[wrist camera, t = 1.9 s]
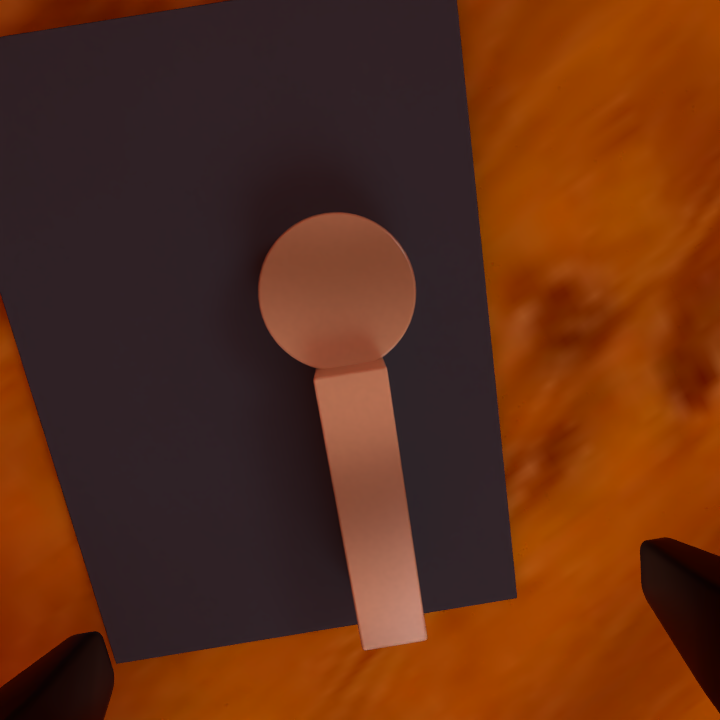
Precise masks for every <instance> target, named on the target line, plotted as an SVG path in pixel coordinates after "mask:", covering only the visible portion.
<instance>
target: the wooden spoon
mask: <svg viewBox="0 0 720 720" xmlns="http://www.w3.org/2000/svg"><path fill="white" fill-rule="evenodd" d="M258 300H259V307H260V311H261V315H262V318H263V320H264V323H265V325H266V327H267V329H268V331H269V332H270V334H271V336H272V337H273V339H274V340H275V341H276V342H277V344H278V345H279V346H280V347H281V348H282V349H283V350H284V351H285V352H287V353H288V354H289V355H290V356H292V357H293V358H295V359H296V360H298V361H300V362H301V363H304V364H306V365H308V366H310V367H314V368H316V370H315V375H314V379H313V382H314V388H315V393H316V399H317V404H318V410H319V415H320V421H321V426H322V432H323V437H324V442H325V448H326V453H327V459H328V464H329V470H330V475H331V481H332V486H333V492H334V497H335V502H336V508H337V513H338V519H339V524H340V530H341V535H342V541H343V546H344V552H345V557H346V562H347V568H348V573H349V579H350V584H351V590H352V595H353V601H354V606H355V612H356V617H357V622H358V628H359V633H360V639H361V644H362V648H363V650H370V649H377V648H383V647H389V646H395V645H401V644H407V643H413V642H419V641H425V640H427V632H426V626H425V619H424V612H423V605H422V599H421V592H420V585H419V579H418V572H417V565H416V558H415V552H414V545H413V538H412V532H411V525H410V518H409V512H408V505H407V498H406V491H405V485H404V478H403V471H402V465H401V458H400V451H399V444H398V438H397V431H396V424H395V418H394V411H393V404H392V397H391V391H390V384H389V377H388V371H387V367H386V364H385V362H384V360H383V356H385V355H386V354H387V353H388V352H390V351H391V350H392V349H393V348H394V347H395V346H396V344H397V343H398V342H399V341H400V340H401V338H402V337H403V335H404V334H405V332H406V330H407V328H408V326H409V324H410V322H411V319H412V316H413V313H414V308H415V303H416V281H415V276H414V271H413V268H412V265H411V263H410V260H409V258H408V256H407V254H406V252H405V251H404V249H403V248H402V246H401V245H400V243H399V242H398V241H397V240H396V239H395V237H394V236H393V235H392V234H391V233H389V232H388V231H387V230H386V229H385V228H383V227H382V226H380V225H379V224H377V223H376V222H374V221H372V220H370V219H368V218H365V217H362V216H359V215H356V214H351V213H344V212H330V213H322V214H318V215H313V216H311V217H308V218H306V219H303V220H301V221H300V222H298V223H296V224H294V225H293V226H291V227H290V228H289V229H287V230H286V231H285V232H284V233H283V234H282V235H281V236H280V237H279V238H278V239H277V240H276V241H275V243H274V244H273V245H272V247H271V248H270V250H269V252H268V253H267V255H266V257H265V260H264V262H263V264H262V268H261V271H260V275H259V282H258Z"/></svg>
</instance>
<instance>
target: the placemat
mask: <svg viewBox="0 0 720 720" xmlns="http://www.w3.org/2000/svg"><path fill="white" fill-rule="evenodd" d="M330 212H344V213H351V214H356V215H359V216H362V217H365V218H368V219H370V220H372V221H374V222H376V223H377V224H379V225H380V226H382V227H383V228H385V229H386V230H387V231H388V232H389V233H391V234H392V235H393V236H394V237H395V239H396V240H397V241H398V242H399V243H400V245H401V246H402V248H403V249H404V251H405V252H406V254H407V256H408V258H409V260H410V263H411V265H412V268H413V271H414V276H415V281H416V303H415V308H414V313H413V316H412V319H411V322H410V324H409V326H408V328H407V330H406V332H405V334H404V335H403V337H402V338H401V340H400V341H399V342H398V343H397V344H396V346H395V347H394V348H393V349H392V350H391V351H390V352H388V353H387V354H386V355H385V356H383V360H384V362H385V364H386V367H387V371H388V377H389V384H390V391H391V397H392V404H393V411H394V418H395V424H396V431H397V438H398V444H399V451H400V458H401V465H402V471H403V478H404V485H405V491H406V498H407V505H408V512H409V518H410V525H411V532H412V538H413V545H414V552H415V558H416V565H417V572H418V579H419V585H420V592H421V599H422V605H423V612H424V613H429V612H435V611H441V610H447V609H453V608H459V607H465V606H471V605H477V604H483V603H490V602H496V601H502V600H508V599H514V598H517V592H516V582H515V572H514V563H513V553H512V543H511V533H510V523H509V513H508V503H507V493H506V483H505V474H504V464H503V454H502V444H501V434H500V424H499V414H498V404H497V394H496V385H495V375H494V365H493V355H492V345H491V335H490V325H489V315H488V305H487V296H486V286H485V276H484V266H483V256H482V246H481V236H480V226H479V216H478V207H477V197H476V187H475V177H474V167H473V157H472V147H471V137H470V127H469V118H468V108H467V98H466V88H465V78H464V68H463V58H462V48H461V38H460V29H459V19H458V9H457V0H230V1H224V2H218V3H211V4H205V5H199V6H192V7H186V8H180V9H173V10H167V11H161V12H155V13H148V14H142V15H136V16H129V17H123V18H117V19H110V20H104V21H98V22H91V23H85V24H79V25H72V26H66V27H60V28H53V29H47V30H41V31H35V32H28V33H22V34H16V35H9V36H3V37H0V293H1V296H2V300H3V303H4V306H5V309H6V312H7V316H8V319H9V322H10V325H11V328H12V332H13V335H14V338H15V341H16V344H17V348H18V351H19V354H20V357H21V360H22V364H23V367H24V370H25V373H26V376H27V380H28V383H29V386H30V389H31V392H32V396H33V399H34V402H35V405H36V408H37V412H38V415H39V418H40V421H41V424H42V428H43V431H44V434H45V437H46V440H47V444H48V447H49V450H50V453H51V456H52V460H53V463H54V466H55V469H56V472H57V476H58V479H59V482H60V485H61V488H62V492H63V495H64V498H65V501H66V504H67V508H68V511H69V514H70V517H71V520H72V524H73V527H74V530H75V533H76V536H77V540H78V543H79V546H80V549H81V552H82V556H83V559H84V562H85V565H86V568H87V572H88V575H89V578H90V581H91V584H92V588H93V591H94V594H95V597H96V600H97V604H98V607H99V610H100V613H101V616H102V620H103V623H104V626H105V629H106V632H107V636H108V639H109V642H110V645H111V648H112V652H113V655H114V658H115V661H116V663H123V662H130V661H136V660H142V659H148V658H154V657H160V656H166V655H172V654H178V653H184V652H191V651H197V650H203V649H209V648H215V647H221V646H227V645H233V644H239V643H245V642H252V641H258V640H264V639H270V638H276V637H282V636H288V635H294V634H300V633H307V632H313V631H319V630H325V629H331V628H337V627H343V626H349V625H355V624H358V622H357V617H356V612H355V606H354V601H353V595H352V590H351V584H350V579H349V573H348V568H347V562H346V557H345V552H344V546H343V541H342V535H341V530H340V524H339V519H338V513H337V508H336V502H335V497H334V492H333V486H332V481H331V475H330V470H329V464H328V459H327V453H326V448H325V442H324V437H323V432H322V426H321V421H320V415H319V410H318V404H317V399H316V393H315V388H314V382H313V379H314V375H315V370H316V368H314V367H310V366H308V365H306V364H304V363H301V362H300V361H298V360H296V359H295V358H293V357H292V356H290V355H289V354H288V353H287V352H285V351H284V350H283V349H282V348H281V347H280V346H279V345H278V344H277V342H276V341H275V340H274V339H273V337H272V336H271V334H270V332H269V331H268V329H267V327H266V325H265V323H264V320H263V318H262V315H261V311H260V307H259V300H258V282H259V275H260V271H261V268H262V264H263V262H264V260H265V257H266V255H267V253H268V252H269V250H270V248H271V247H272V245H273V244H274V243H275V241H276V240H277V239H278V238H279V237H280V236H281V235H282V234H283V233H284V232H285V231H286V230H287V229H289V228H290V227H291V226H293V225H294V224H296V223H298V222H300V221H301V220H303V219H306V218H308V217H311V216H313V215H318V214H322V213H330Z"/></svg>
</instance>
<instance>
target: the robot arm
mask: <svg viewBox="0 0 720 720" xmlns="http://www.w3.org/2000/svg"><path fill="white" fill-rule="evenodd" d="M640 561H641V584H642V589H643V593H644V595H645V598H646V600H647V601H648V603H649V605H650V606H651V608H652V610H653V611H654V613H655V614H656V616H657V618H658V619H659V621H660V622H661V624H662V626H663V627H664V629H665V630H666V632H667V634H668V635H669V637H670V638H671V640H672V642H673V643H674V645H675V646H676V648H677V650H678V651H679V653H680V654H681V656H682V658H683V659H684V661H685V662H686V664H687V666H688V667H689V669H690V670H691V672H692V674H693V675H694V677H695V678H696V680H697V681H698V683H699V684H700V686H701V688H702V689H703V691H704V692H705V694H706V695H707V696H708V698H709V699H710V701H711V702H712V703H713V705H714V706H715V707H716V709H717V710H718V712H719V713H720V556H717V555H715V554H712V553H709V552H707V551H704V550H701V549H698V548H696V547H693V546H690V545H688V544H685V543H682V542H679V541H677V540H674V539H671V538H665V537H664V538H658V539H652V540H646V541H644V542H643V543H642V544H641V547H640ZM113 686H114V672H113V668H112V665H111V662H110V658H109V655H108V652H107V649H106V646H105V642H104V639H103V637H102V635H101V634H100V633H98V632H95V631H94V632H88V633H82V634H76V635H73V636H70V637H69V638H67V639H66V640H65V641H63V642H62V643H61V644H59V645H58V646H56V647H55V648H54V649H52V650H51V651H50V652H48V653H47V654H46V655H44V656H43V657H41V658H40V659H39V660H37V661H36V662H35V663H33V664H32V665H31V666H29V667H28V668H27V669H25V670H24V671H22V672H21V673H20V674H18V675H17V676H16V677H14V678H13V679H12V680H10V681H9V682H7V683H6V684H5V685H3V686H2V687H1V688H0V720H104V717H105V714H106V710H107V707H108V704H109V701H110V697H111V694H112V691H113Z"/></svg>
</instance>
